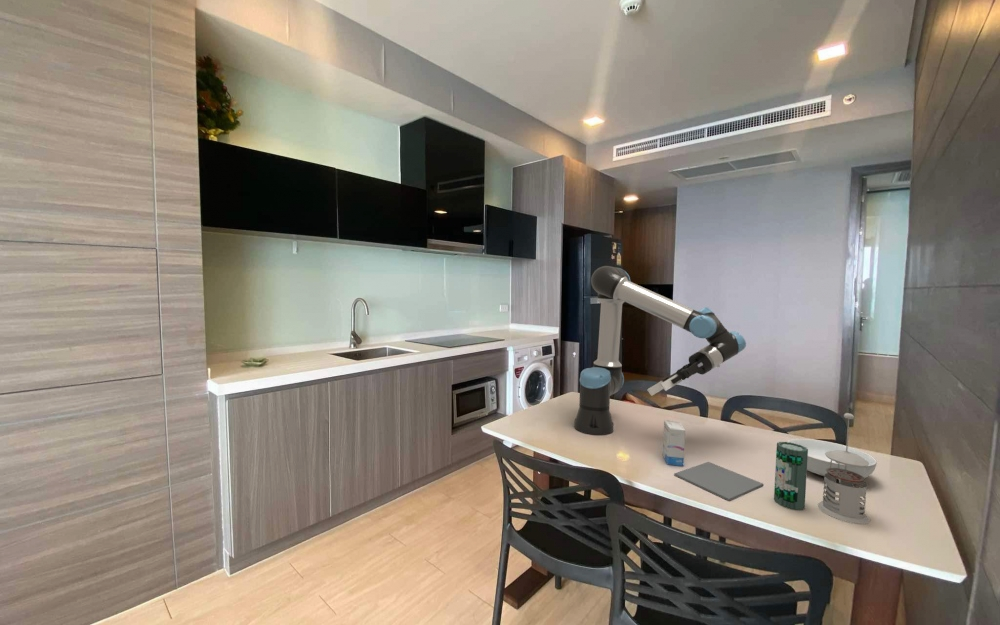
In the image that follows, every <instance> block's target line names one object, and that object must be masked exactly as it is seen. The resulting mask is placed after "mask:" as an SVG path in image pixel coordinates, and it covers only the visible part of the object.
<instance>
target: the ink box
mask: <svg viewBox="0 0 1000 625" xmlns="http://www.w3.org/2000/svg"><path fill="white" fill-rule="evenodd" d="M685 442H686V429H685V428H684V427H683V426H682V424H681V423H680V422H679V421H674V420H663V436H662V447H661V448H662V451H661V454H662V457H663V459H664V460H665V463H666V464H667V465H668V466H679V467H684V458H685V444H686V443H685Z"/></svg>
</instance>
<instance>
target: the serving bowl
mask: <svg viewBox="0 0 1000 625" xmlns="http://www.w3.org/2000/svg"><path fill="white" fill-rule="evenodd" d="M786 442H791V443H794V444H798V445H802V446H804V447H806V448H807V449H808V458H807V472H808V471H809V472H811V473H812V474H813V473H814V474H816V475H818V476H822V477H824V475H825V474H826V473H827V470H826V469H828V468H830V462H831V459H829V458H828V457H827V456H826V455H825V453H826V452H828V451H834V450H841V451H846V445H844V444H841V443H836V442H831V441H826V440H819V439H812V438H792V439H788V440H786ZM847 451H848V452H851V453H854V454H857V455H859V456H860V457H862V458H864V459H865V460H866V461H868V463H869V465H868V466H866V467H853V466H848V465H846V470H848V471H852V472H855V473H858V474H859V475H861V476H863V477H864V478H865V479H866V478H868V477H869V476H871V475H872V474H873V473H874V472H875V470H876V467H877V464H878V463H877V462H878V461H877V460H876V457H874V456H872V455H870V454H869V453H866V452H865V451H862V450H861V449H858V448H853V447H851V446H848V450H847ZM833 467H834V468H838V463H836V462H835V461H833V460H832V463H831V468H833ZM839 468H840V469H845V465H844V464H840V465H839ZM836 480H839V479H838V478H836Z"/></svg>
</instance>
